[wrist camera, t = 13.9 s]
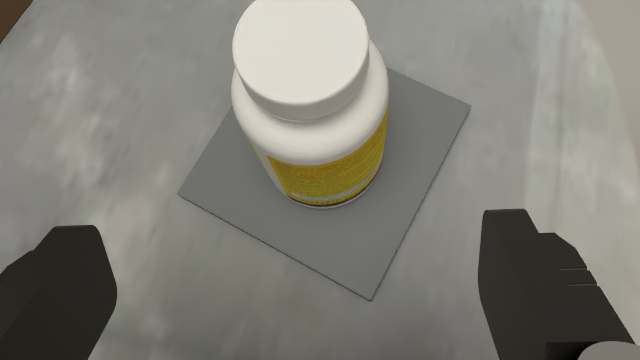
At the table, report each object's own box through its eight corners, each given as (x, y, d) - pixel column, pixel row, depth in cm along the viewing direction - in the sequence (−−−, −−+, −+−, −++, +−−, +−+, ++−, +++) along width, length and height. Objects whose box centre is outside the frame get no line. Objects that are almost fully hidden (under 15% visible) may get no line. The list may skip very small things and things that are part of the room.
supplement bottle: (408, 153, 24) (434, 40, 15) (321, 235, 24) (291, 170, 14) (326, 77, 26) (304, -70, 16) (242, 152, 25) (168, 43, 16)
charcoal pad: (181, 196, 25) (177, 193, 25) (286, 28, 27) (284, 22, 27) (370, 301, 23) (370, 300, 23) (469, 110, 25) (471, 105, 25)
